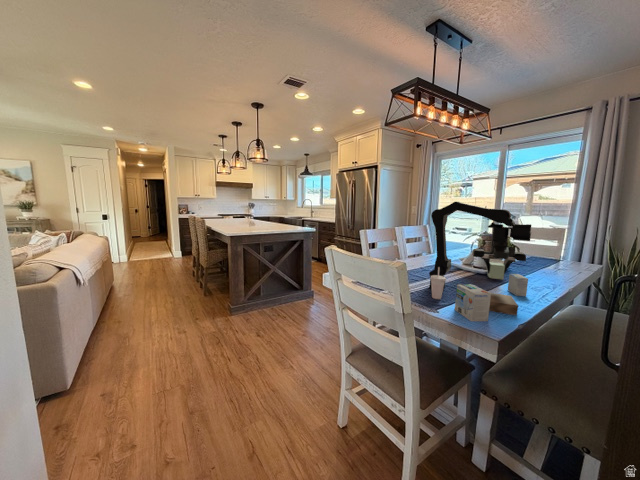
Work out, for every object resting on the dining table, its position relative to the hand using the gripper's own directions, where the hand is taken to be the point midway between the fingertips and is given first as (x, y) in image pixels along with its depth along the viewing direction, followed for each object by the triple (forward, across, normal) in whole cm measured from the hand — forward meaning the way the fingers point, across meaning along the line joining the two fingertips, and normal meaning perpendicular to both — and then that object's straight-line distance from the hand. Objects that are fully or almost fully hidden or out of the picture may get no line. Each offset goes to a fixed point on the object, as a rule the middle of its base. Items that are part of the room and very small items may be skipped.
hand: (495, 273), depth 113 cm
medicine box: (+12, +12, +16) cm, 24 cm away
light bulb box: (+12, -11, -23) cm, 28 cm away
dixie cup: (+12, +8, +44) cm, 46 cm away
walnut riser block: (+12, 0, -9) cm, 15 cm away
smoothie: (+12, -23, -8) cm, 27 cm away
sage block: (+2, 0, 0) cm, 2 cm away
